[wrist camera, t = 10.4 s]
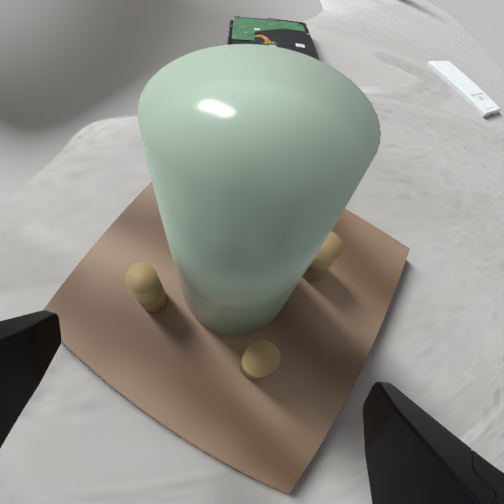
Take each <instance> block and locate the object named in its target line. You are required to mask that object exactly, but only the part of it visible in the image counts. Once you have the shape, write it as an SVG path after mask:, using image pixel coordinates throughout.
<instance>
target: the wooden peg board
mask: <svg viewBox="0 0 504 504" xmlns="http://www.w3.org/2000/svg"><path fill="white" fill-rule="evenodd" d="M408 252H409V248H408V247H406V246H405V245H403V244H402V243H400V242H399V241H397V240H395V239H394V238H392V237H391V236H389V235H388V234H386V233H384V232H383V231H381V230H380V229H378V228H376V227H375V226H373V225H371V224H370V223H368V222H366V221H365V220H363V219H362V218H360V217H358V216H357V215H355V214H353V213H351V212H350V211H348V210H346V209H345V208H344V210H343V212H342V213H341V215H340V217H339V218H338V220H337V222H336V223H335V225H334V227H333V228H332V230H331V232H330V233H329V235H328V237H327V238H326V240H325V241H324V243H323V245H322V246H321V248H320V250H319V251H318V253H317V254H316V256H315V258H314V259H313V261H312V262H311V264H310V265H309V267H308V269H307V270H306V272H305V273H304V275H303V277H302V278H301V280H300V281H299V283H298V284H297V286H296V287H295V289H294V291H293V292H292V294H291V295H290V297H289V298H288V300H287V301H286V303H285V304H284V306H283V307H282V309H281V310H280V312H279V313H278V315H277V316H276V318H275V319H274V320H273V321H272V322H271V323H270V324H269V325H267V326H266V327H265V328H263V329H261V330H260V331H257V332H255V333H252V334H249V335H244V336H227V335H222V334H219V333H216V332H213V331H211V330H210V329H208V328H206V327H205V326H203V325H202V324H201V323H200V322H199V321H198V320H197V319H196V318H195V317H194V316H193V315H192V313H191V312H190V310H189V308H188V306H187V303H186V301H185V298H184V294H183V291H182V288H181V285H180V282H179V278H178V275H177V272H176V268H175V265H174V262H173V258H172V255H171V251H170V248H169V244H168V241H167V237H166V233H165V230H164V226H163V223H162V219H161V215H160V211H159V207H158V204H157V200H156V196H155V192H154V188H153V184H152V182H151V183H150V184H149V185H148V186H147V187H146V188H145V189H144V190H143V191H142V192H141V193H140V194H139V195H138V196H137V198H136V199H135V200H134V201H133V202H132V203H131V204H130V205H129V206H128V207H127V208H126V209H125V210H124V212H123V213H122V214H121V215H120V216H119V217H118V218H117V219H116V220H115V222H114V223H113V224H112V225H111V226H110V227H109V228H108V229H107V231H106V232H105V233H104V234H103V235H102V236H101V238H100V239H99V240H98V241H97V242H96V243H95V245H94V246H93V247H92V248H91V249H90V251H89V252H88V253H87V254H86V255H85V257H84V258H83V259H82V260H81V262H80V263H79V264H78V265H77V267H76V268H75V269H74V270H73V272H72V273H71V274H70V275H69V277H68V278H67V279H66V281H65V282H64V283H63V284H62V286H61V287H60V288H59V290H58V291H57V292H56V294H55V295H54V296H53V298H52V299H51V300H50V302H49V303H48V305H47V306H46V307H45V309H44V310H48V311H51V312H54V313H56V314H57V315H58V317H59V322H60V330H61V341H62V342H63V343H64V344H65V345H66V346H67V347H68V348H69V349H70V350H71V351H72V352H73V353H74V354H75V355H76V356H78V357H79V358H80V359H81V360H82V361H83V362H84V363H85V364H86V365H87V366H89V367H90V368H91V369H92V370H93V371H94V372H95V373H97V374H98V375H99V376H100V377H101V378H102V379H104V380H105V381H106V382H107V383H108V384H110V385H111V386H112V387H113V388H115V389H116V390H117V391H118V392H120V393H121V394H122V395H123V396H125V397H126V398H127V399H128V400H130V401H131V402H132V403H134V404H135V405H136V406H138V407H139V408H140V409H142V410H143V411H144V412H146V413H147V414H149V415H150V416H151V417H153V418H154V419H156V420H157V421H158V422H160V423H161V424H163V425H164V426H166V427H167V428H169V429H170V430H172V431H173V432H175V433H176V434H178V435H179V436H181V437H182V438H184V439H185V440H187V441H189V442H190V443H192V444H193V445H195V446H197V447H198V448H200V449H202V450H203V451H205V452H207V453H208V454H210V455H212V456H213V457H215V458H217V459H219V460H220V461H222V462H224V463H226V464H228V465H229V466H231V467H233V468H235V469H237V470H239V471H241V472H243V473H245V474H246V475H248V476H250V477H252V478H254V479H256V480H258V481H261V482H263V483H265V484H267V485H269V486H271V487H273V488H275V489H278V490H280V491H282V492H284V493H287V494H289V493H290V491H291V490H292V489H293V487H294V486H295V484H296V483H297V481H298V480H299V478H300V477H301V475H302V474H303V472H304V471H305V469H306V468H307V466H308V464H309V463H310V461H311V460H312V458H313V456H314V455H315V453H316V452H317V450H318V448H319V447H320V445H321V443H322V442H323V440H324V438H325V437H326V435H327V433H328V431H329V430H330V428H331V426H332V424H333V423H334V421H335V419H336V417H337V415H338V414H339V412H340V410H341V408H342V406H343V404H344V403H345V401H346V399H347V397H348V395H349V393H350V391H351V389H352V387H353V385H354V383H355V381H356V379H357V377H358V375H359V373H360V371H361V369H362V367H363V365H364V363H365V360H366V358H367V356H368V354H369V352H370V350H371V347H372V345H373V343H374V341H375V338H376V336H377V334H378V331H379V329H380V327H381V324H382V322H383V320H384V317H385V315H386V312H387V310H388V307H389V305H390V302H391V300H392V297H393V295H394V292H395V289H396V287H397V284H398V281H399V278H400V276H401V273H402V270H403V267H404V264H405V261H406V258H407V255H408Z"/></svg>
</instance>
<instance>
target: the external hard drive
mask: <svg viewBox="0 0 504 504" xmlns="http://www.w3.org/2000/svg"><path fill="white" fill-rule="evenodd" d="M426 66H427V67H429V68H430V69H431V70H432V71H433V72H435V73H436V74H437V75H438V76H439V77H441V78H442V79H443V80H444V81H445V82H446V83H447V84H449V85H450V86H451V87H452V88H453V89H454V90H455V91H456V92H457V93H458V94H460V95H461V96H462V97H463V98H464V99H465V100H466V101H467V102H468V103H469V104H470V105H471V106H472V107H473V108H474V109H475V110H476V111H477V112H478V113H479V114H480V115H481V116H482V117H485V116H488V115H490V114H495V113H498V112H499V111H500V108H499V107H498V106H497V105H496V104H495V103H494V102H493V101H492V100H491V99H490V98H489V97H488V96H487V95H486V94H485V93H484V92H483V91H482V90H481V89H480V88H479V87H478V86H477V85H476V84H475V83H474V82H472V81H471V80H470V79H469V78H468V77H467V76H466V75H465V74H464V73H462V72H461V71H460V70H459V69H458V68H457V67H455V66H454V65H453V64H452V63H451V62H449V61H429V62H428V63H427V65H426Z"/></svg>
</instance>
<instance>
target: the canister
mask: <svg viewBox="0 0 504 504" xmlns="http://www.w3.org/2000/svg"><path fill="white" fill-rule="evenodd" d="M138 121H139V126H140V131H141V136H142V140H143V145H144V149H145V154H146V158H147V163H148V167H149V171H150V175H151V180H152V184H153V188H154V192H155V196H156V200H157V204H158V207H159V211H160V215H161V219H162V223H163V226H164V230H165V233H166V237H167V241H168V244H169V248H170V251H171V255H172V258H173V262H174V265H175V268H176V272H177V275H178V278H179V282H180V285H181V288H182V291H183V294H184V298H185V301H186V303H187V306H188V308H189V310H190V312H191V313H192V315H193V316H194V317H195V318H196V319H197V320H198V321H199V322H200V323H201V324H202V325H203V326H205V327H206V328H208V329H210V330H211V331H213V332H216V333H219V334H222V335H227V336H244V335H249V334H252V333H255V332H257V331H260V330H261V329H263V328H265V327H266V326H267V325H269V324H270V323H271V322H272V321H273V320H274V319H275V318H276V316H277V315H278V313H279V312H280V310H281V309H282V307H283V306H284V304H285V303H286V301H287V300H288V298H289V297H290V295H291V294H292V292H293V291H294V289H295V287H296V286H297V284H298V283H299V281H300V280H301V278H302V277H303V275H304V273H305V272H306V270H307V269H308V267H309V265H310V264H311V262H312V261H313V259H314V258H315V256H316V254H317V253H318V251H319V250H320V248H321V246H322V245H323V243H324V241H325V240H326V238H327V237H328V235H329V233H330V232H331V230H332V228H333V227H334V225H335V223H336V222H337V220H338V218H339V217H340V215H341V213H342V212H343V210H344V208H345V207H346V205H347V203H348V202H349V200H350V198H351V196H352V195H353V193H354V191H355V190H356V188H357V186H358V184H359V183H360V181H361V179H362V178H363V176H364V174H365V172H366V171H367V169H368V167H369V165H370V163H371V162H372V160H373V158H374V156H375V155H376V153H377V150H378V147H379V144H380V135H381V132H380V124H379V120H378V117H377V114H376V112H375V110H374V108H373V106H372V104H371V103H370V101H369V100H368V98H367V97H366V95H365V94H364V93H363V92H362V91H361V90H360V88H359V87H358V86H356V85H355V84H354V83H353V82H352V81H351V80H350V79H349V78H347V77H346V76H345V75H343V74H342V73H341V72H339V71H338V70H336V69H334V68H333V67H331V66H329V65H327V64H326V63H324V62H322V61H320V60H317V59H315V58H313V57H310V56H308V55H305V54H302V53H299V52H296V51H292V50H289V49H285V48H280V47H275V46H267V45H258V44H231V45H222V46H215V47H210V48H206V49H202V50H198V51H195V52H192V53H189V54H187V55H185V56H182V57H180V58H178V59H176V60H174V61H173V62H171V63H169V64H168V65H166V66H165V67H164V68H162V69H161V70H160V71H159V72H157V73H156V74H155V75H154V76H153V77H152V78H151V80H150V81H149V82H148V83H147V85H146V86H145V88H144V90H143V92H142V94H141V97H140V100H139V103H138Z"/></svg>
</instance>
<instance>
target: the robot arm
mask: <svg viewBox="0 0 504 504" xmlns="http://www.w3.org/2000/svg"><path fill="white" fill-rule="evenodd" d="M60 344H61V330H60V322H59V317H58V315H57V314H56V313H54V312H51V311H48V310H43V311H39V312H35V313H31V314H27V315H23V316H19V317H15V318H12V319H8V320H4V321H0V448H1V446H2V444H3V443H4V441H5V439H6V437H7V436H8V434H9V432H10V431H11V429H12V427H13V425H14V424H15V422H16V420H17V419H18V417H19V416H20V414H21V412H22V411H23V409H24V407H25V406H26V404H27V403H28V401H29V399H30V398H31V396H32V395H33V393H34V392H35V390H36V389H37V387H38V385H39V384H40V382H41V380H42V378H43V376H44V374H45V373H46V371H47V369H48V367H49V365H50V363H51V361H52V359H53V357H54V355H55V354H56V352H57V350H58V348H59V346H60ZM363 421H364V439H365V455H366V463H367V469H368V475H369V482H370V489H371V496H372V504H504V473H503V472H501V471H500V470H498V469H497V468H496V467H494V466H493V465H491V464H490V463H489V462H487V461H486V460H485V459H483V458H482V457H481V456H480V455H478V454H477V453H476V452H475V451H473V450H472V451H471V448H470V447H468V446H467V445H466V444H465V443H463V442H462V441H461V440H460V439H458V438H457V437H456V436H455V435H453V434H452V433H451V432H450V431H448V430H447V429H446V428H445V427H444V426H442V425H441V424H440V423H439V422H437V421H436V420H435V419H434V418H432V417H431V416H430V415H429V414H427V413H426V412H425V411H424V410H423V409H421V408H420V407H419V406H418V405H416V404H415V403H414V402H413V401H412V400H410V399H409V398H408V397H407V396H405V395H404V394H403V393H402V392H401V391H399V390H398V389H397V388H396V387H395V386H393V385H392V384H391V383H388V382H376V383H375V384H374V386H373V387H372V389H371V391H370V393H369V395H368V397H367V399H366V401H365V403H364V405H363Z"/></svg>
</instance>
